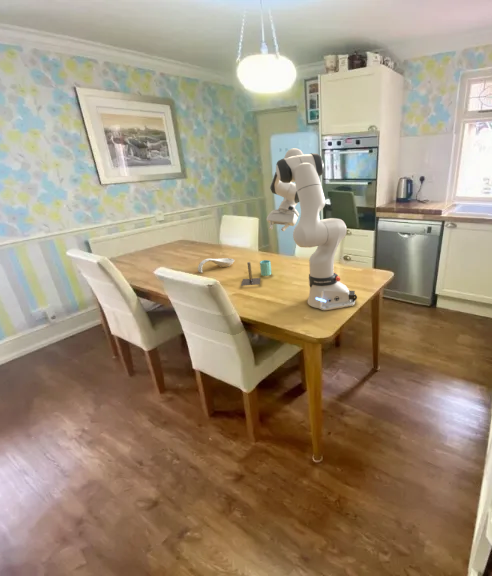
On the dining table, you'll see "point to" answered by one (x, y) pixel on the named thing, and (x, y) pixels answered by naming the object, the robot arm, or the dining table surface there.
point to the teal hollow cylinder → (265, 267)
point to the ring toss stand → (250, 278)
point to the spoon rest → (217, 262)
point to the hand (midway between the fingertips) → (276, 229)
